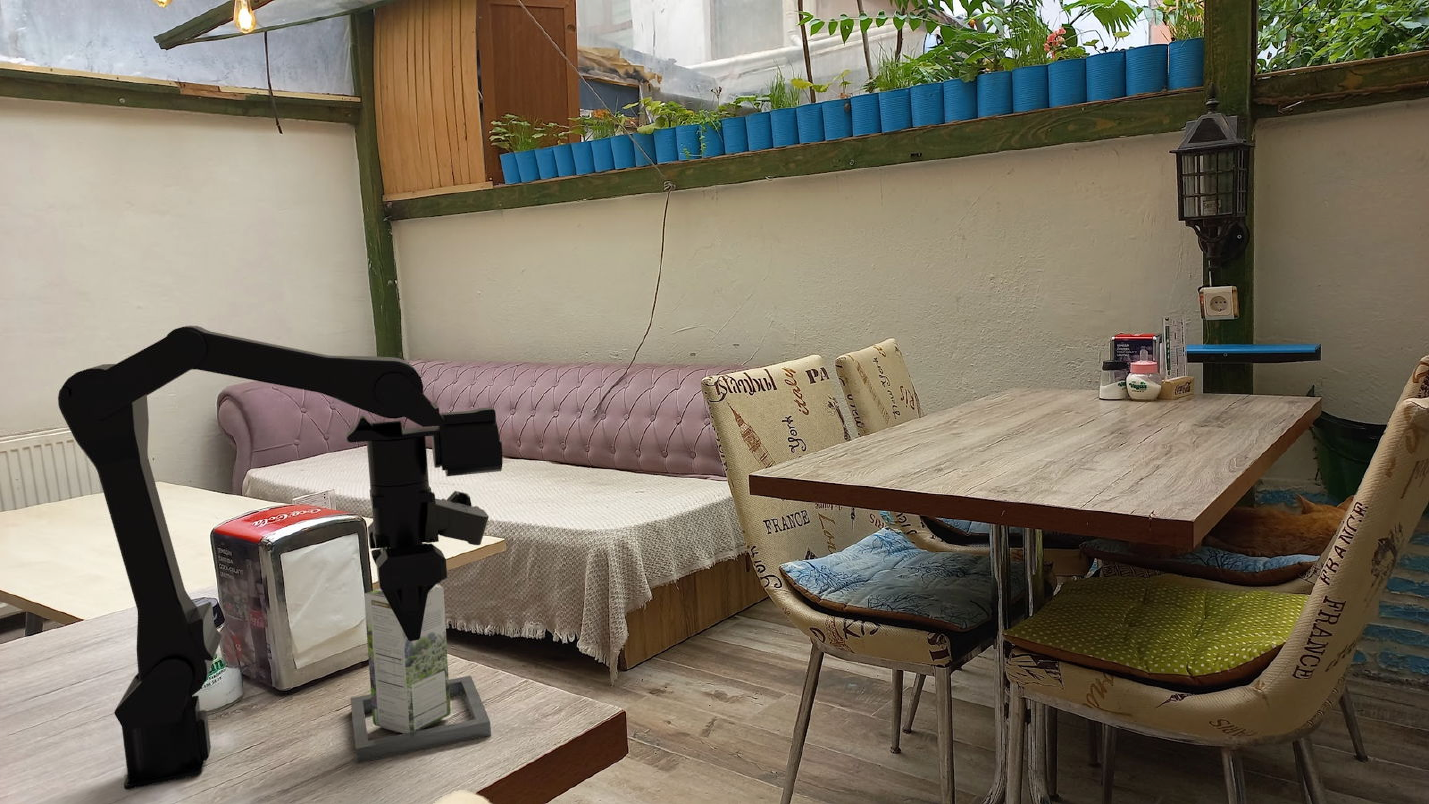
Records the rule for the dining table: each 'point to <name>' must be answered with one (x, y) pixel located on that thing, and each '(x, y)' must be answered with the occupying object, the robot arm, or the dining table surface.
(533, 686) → the dining table surface
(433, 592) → the syrup box
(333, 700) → the dining table surface
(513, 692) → the dining table surface
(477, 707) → the collar socket
